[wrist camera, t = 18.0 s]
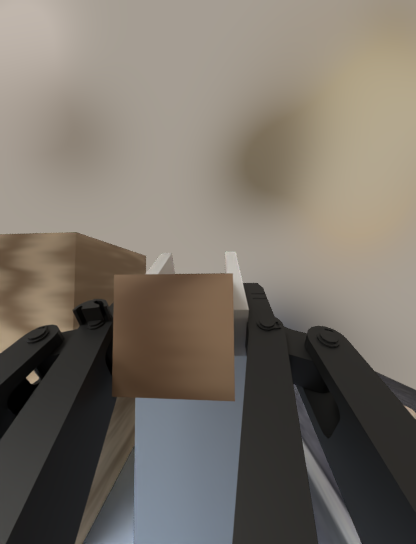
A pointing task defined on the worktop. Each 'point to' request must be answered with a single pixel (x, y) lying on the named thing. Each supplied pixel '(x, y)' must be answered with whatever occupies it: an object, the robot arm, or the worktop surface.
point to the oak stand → (67, 320)
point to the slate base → (187, 467)
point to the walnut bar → (173, 337)
